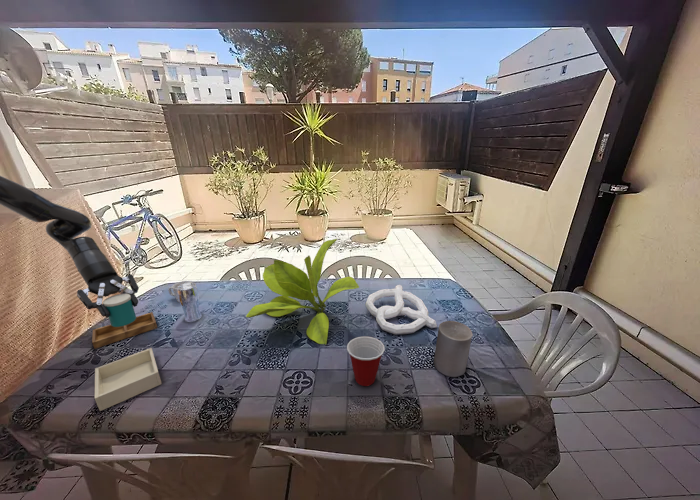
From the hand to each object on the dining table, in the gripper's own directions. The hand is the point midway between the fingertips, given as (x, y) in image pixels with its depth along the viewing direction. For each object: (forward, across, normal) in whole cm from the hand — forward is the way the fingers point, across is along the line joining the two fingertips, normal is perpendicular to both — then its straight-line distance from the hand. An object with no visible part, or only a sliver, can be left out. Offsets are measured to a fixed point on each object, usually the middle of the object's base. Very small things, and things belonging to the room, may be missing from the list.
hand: (122, 310), depth 83 cm
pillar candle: (+76, +49, -50) cm, 103 cm away
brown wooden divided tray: (0, +4, +26) cm, 26 cm away
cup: (-5, +29, +30) cm, 42 cm away
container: (+2, 0, +4) cm, 5 cm away
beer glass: (+9, +22, +17) cm, 29 cm away
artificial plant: (+36, +46, -10) cm, 59 cm away
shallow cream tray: (+20, -6, +6) cm, 22 cm away
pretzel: (+58, +68, -33) cm, 95 cm away
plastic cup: (+61, +30, -36) cm, 77 cm away
